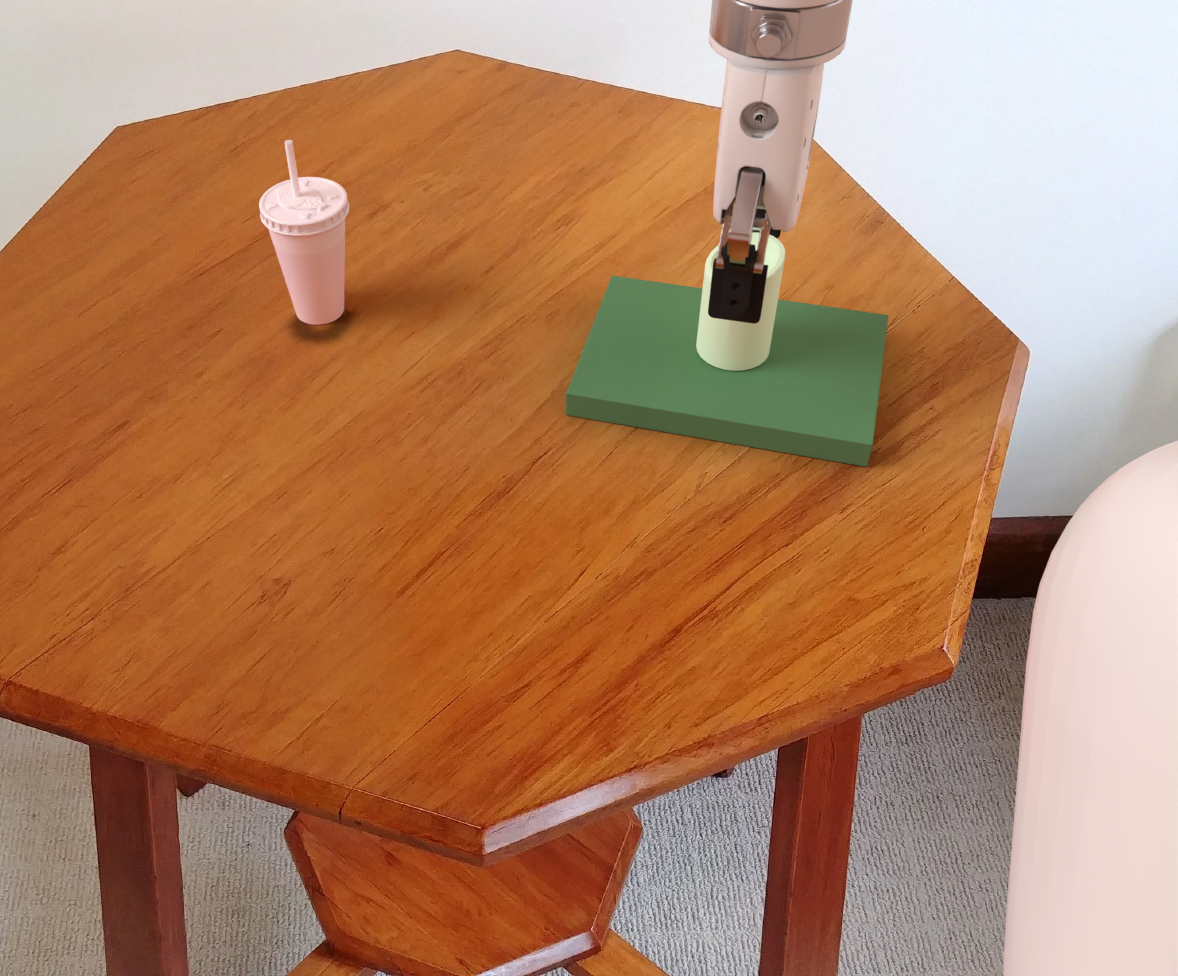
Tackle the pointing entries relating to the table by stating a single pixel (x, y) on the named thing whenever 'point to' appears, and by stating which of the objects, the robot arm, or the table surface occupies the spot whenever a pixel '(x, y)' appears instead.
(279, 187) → the smoothie
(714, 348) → the candle
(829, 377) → the foam
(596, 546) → the table surface
